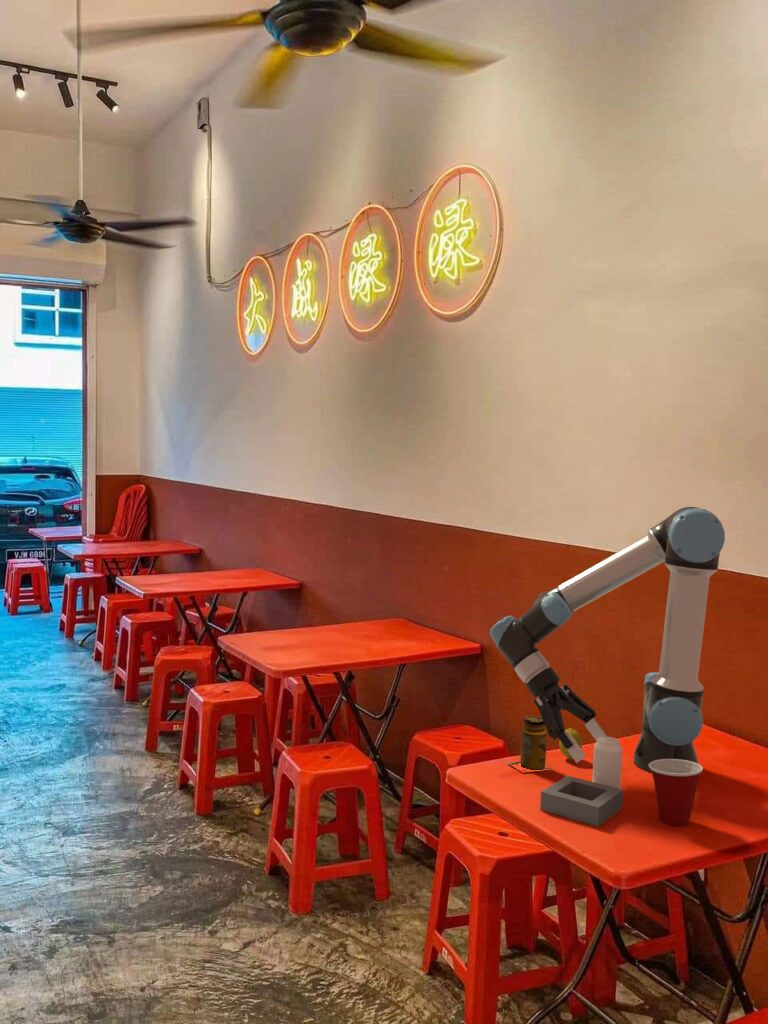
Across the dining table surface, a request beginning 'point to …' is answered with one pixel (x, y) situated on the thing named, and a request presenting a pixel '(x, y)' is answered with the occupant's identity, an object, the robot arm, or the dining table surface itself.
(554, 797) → the square frame
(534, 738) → the condiment
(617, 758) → the beverage can
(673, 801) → the plastic cup
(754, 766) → the dining table surface
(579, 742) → the lemon
